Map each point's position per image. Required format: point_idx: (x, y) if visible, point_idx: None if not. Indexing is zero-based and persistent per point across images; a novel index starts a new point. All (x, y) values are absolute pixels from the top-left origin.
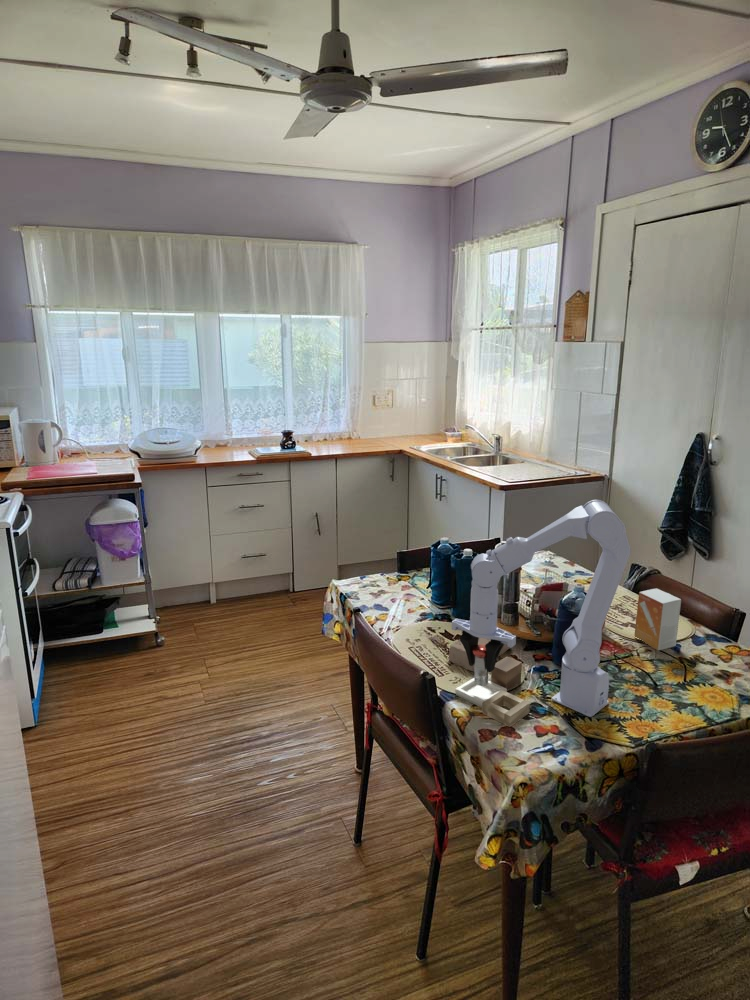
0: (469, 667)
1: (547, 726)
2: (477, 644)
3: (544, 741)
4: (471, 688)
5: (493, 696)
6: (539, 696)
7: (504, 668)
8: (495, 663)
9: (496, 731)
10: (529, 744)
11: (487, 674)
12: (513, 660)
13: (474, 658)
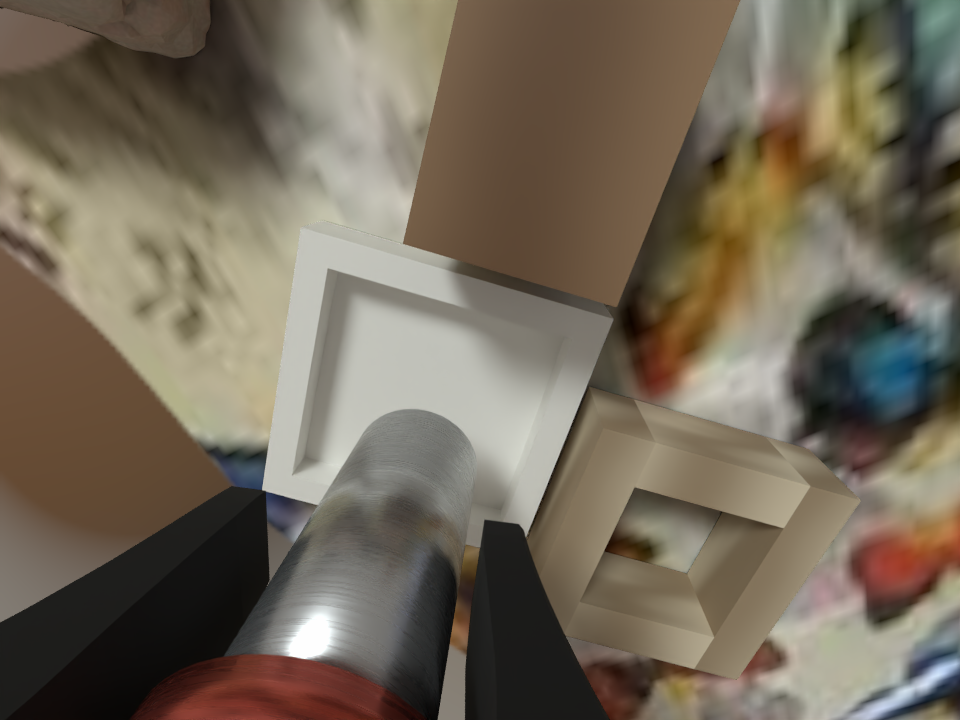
0: (139, 46)
1: (939, 525)
2: (49, 694)
3: (917, 645)
4: (341, 373)
5: (566, 534)
6: (876, 188)
7: (574, 241)
8: (536, 572)
9: (645, 663)
10: (834, 688)
11: (466, 533)
12: None
13: (226, 585)
